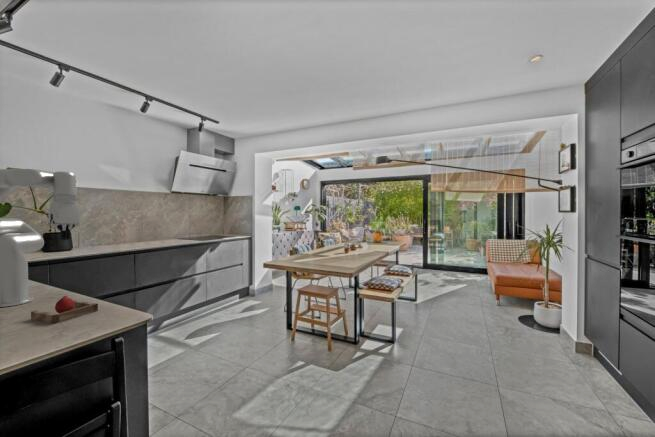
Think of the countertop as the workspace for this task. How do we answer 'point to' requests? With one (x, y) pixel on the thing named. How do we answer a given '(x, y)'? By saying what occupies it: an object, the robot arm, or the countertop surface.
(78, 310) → the corral
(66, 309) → the onion
